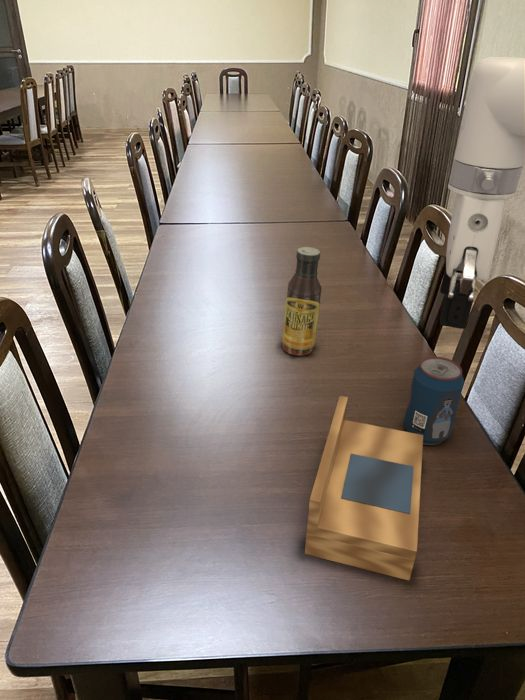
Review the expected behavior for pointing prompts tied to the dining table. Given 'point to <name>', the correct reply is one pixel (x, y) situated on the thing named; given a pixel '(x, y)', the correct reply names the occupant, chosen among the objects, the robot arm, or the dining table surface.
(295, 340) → the sauce bottle
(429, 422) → the soda can
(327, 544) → the wooden block with lip
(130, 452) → the dining table surface
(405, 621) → the dining table surface
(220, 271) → the dining table surface
